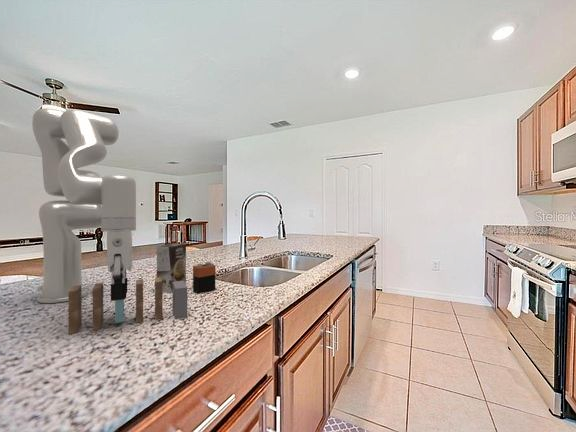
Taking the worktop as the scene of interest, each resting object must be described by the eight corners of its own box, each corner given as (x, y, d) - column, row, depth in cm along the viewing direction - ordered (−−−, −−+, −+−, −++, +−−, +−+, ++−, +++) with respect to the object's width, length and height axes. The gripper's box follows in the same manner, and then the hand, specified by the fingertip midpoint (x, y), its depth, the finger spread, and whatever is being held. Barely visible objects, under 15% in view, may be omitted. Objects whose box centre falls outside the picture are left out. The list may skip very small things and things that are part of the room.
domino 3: (115, 323, 67) (115, 282, 66) (116, 316, 71) (116, 278, 71) (122, 321, 67) (122, 281, 67) (124, 315, 72) (123, 277, 72)
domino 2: (92, 330, 64) (92, 288, 64) (95, 322, 69) (95, 283, 69) (100, 329, 65) (100, 287, 65) (103, 321, 70) (103, 283, 69)
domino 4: (136, 323, 69) (135, 284, 69) (136, 316, 73) (136, 279, 73) (143, 322, 69) (143, 283, 69) (143, 315, 74) (143, 279, 74)
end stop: (175, 318, 72) (175, 288, 72) (172, 309, 79) (172, 281, 79) (187, 316, 73) (187, 287, 73) (183, 307, 80) (183, 280, 80)
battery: (216, 290, 98) (216, 262, 98) (198, 294, 93) (198, 265, 93) (209, 287, 101) (209, 260, 101) (192, 291, 96) (192, 263, 96)
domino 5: (155, 320, 71) (155, 282, 71) (155, 313, 75) (154, 277, 75) (162, 319, 72) (162, 281, 71) (161, 312, 76) (161, 277, 76)
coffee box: (172, 292, 95) (172, 246, 94) (155, 291, 96) (155, 245, 96) (186, 285, 104) (186, 243, 103) (171, 284, 105) (171, 243, 105)
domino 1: (68, 334, 62) (68, 291, 62) (73, 326, 67) (73, 286, 67) (77, 333, 63) (77, 290, 63) (81, 325, 67) (81, 285, 67)
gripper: (135, 226, 63) (135, 304, 63) (136, 223, 78) (136, 286, 78) (96, 227, 60) (96, 309, 60) (105, 223, 74) (105, 289, 75)
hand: (119, 295), depth 69 cm, fingers closed on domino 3, 4 cm apart
